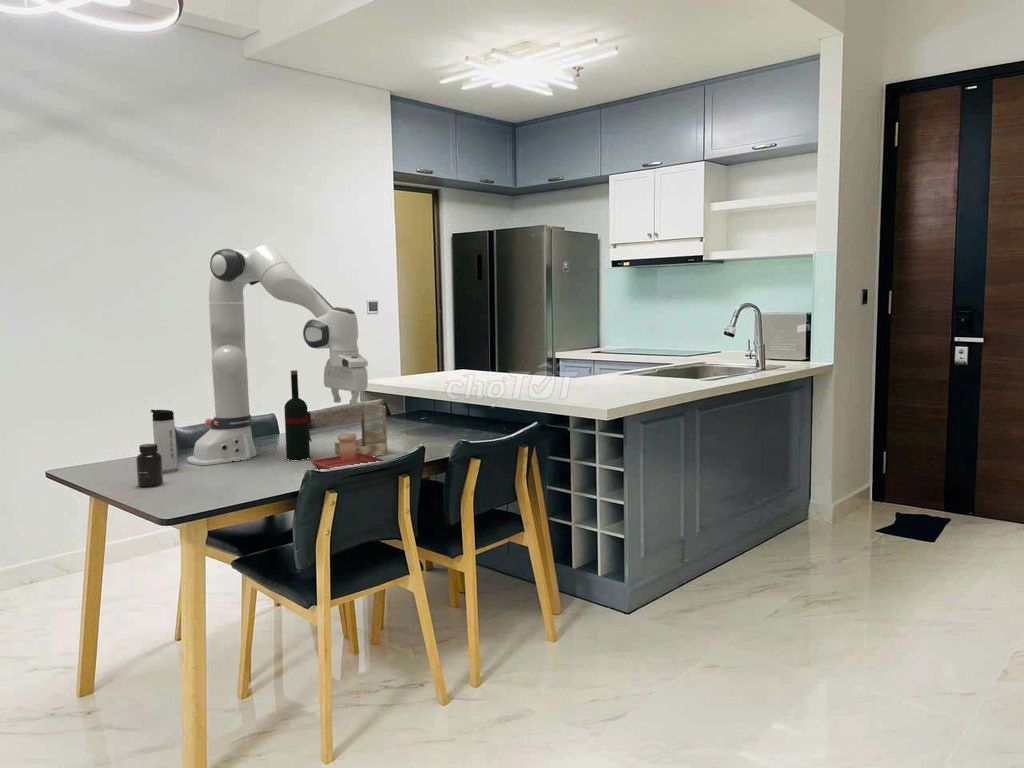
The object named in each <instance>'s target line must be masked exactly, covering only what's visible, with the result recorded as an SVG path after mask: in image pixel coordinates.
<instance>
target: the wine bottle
mask: <svg viewBox="0 0 1024 768" xmlns="http://www.w3.org/2000/svg"><path fill="white" fill-rule="evenodd" d="M298 379H299V378H298V370H290V381H291V382H290V383H291V384H290V386H291V398H290V399H289V400H288V401H286V403H285V405H284V426H285V427H284V431H285V450H286V452H285V453H286V460H287V459H289V460H302V459H307V458H310V459H311V449H310V442H311V443H313V440H312V438H311V436H310V435H311V434H310V427H309V424H310V423H311V412H310V411H308V405H307V403H306V401H305V400H303V399H302V398H300V397H299V396H300V395H299V381H298ZM307 460H308V459H307Z"/></svg>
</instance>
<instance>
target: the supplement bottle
mask: <svg viewBox="0 0 1024 768" xmlns="http://www.w3.org/2000/svg"><path fill="white" fill-rule="evenodd" d="M138 448H139V453H140V454H138V455H137V456H136V475H137V476H136V477H137V485H138V487H140V488H155V487H158V486H162V484H163V483H164V476H163V475H164V473H163V470H162V456H161V454H159V453H157V451H158V449H157V444H154V443H144V444H140V445H139V447H138Z"/></svg>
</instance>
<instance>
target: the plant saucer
mask: <svg viewBox="0 0 1024 768" xmlns="http://www.w3.org/2000/svg"><path fill="white" fill-rule="evenodd" d="M383 460H384V459H382V458H378V457H372V456H369V455H365V454H362V453H356V460H355V461H352V462H342V461H341V456H340V455H337V456H330V457H323V458H317V459H312V460H310V463H311V464H312V465H313V466H314V467H315V468H316V469H317V468H318V469H317V470H319V469H330V468H334V467H341V466H346V465H354V464H360V463H368V462H376V461H383Z"/></svg>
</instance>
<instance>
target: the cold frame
mask: <svg viewBox="0 0 1024 768" xmlns="http://www.w3.org/2000/svg"><path fill="white" fill-rule="evenodd" d="M360 408H361V409H360V418H361V419H360V421H361V423H360V424H361V425H360V427H361V438H357V439H355V447H356V453H362V454H365V455H369V456H372V457H373V456H377V455H382V456H384V455H383V454H387V455H388V437H387V436H388V435H387V433H388V432H387V410H386V409H387V408H386V405H381V404H380V405H379V404H374V403H368V402H360ZM336 454H337V456H341V455H340V441H339V442H334V455H336ZM377 457H378V456H377Z"/></svg>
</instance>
